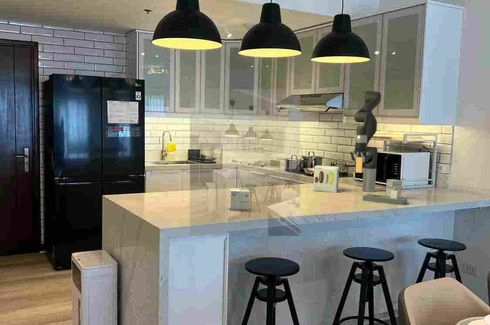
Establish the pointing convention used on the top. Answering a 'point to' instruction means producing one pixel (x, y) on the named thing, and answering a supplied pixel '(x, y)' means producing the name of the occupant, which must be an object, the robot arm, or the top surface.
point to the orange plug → (359, 164)
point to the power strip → (386, 198)
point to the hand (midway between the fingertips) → (359, 167)
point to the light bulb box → (239, 199)
